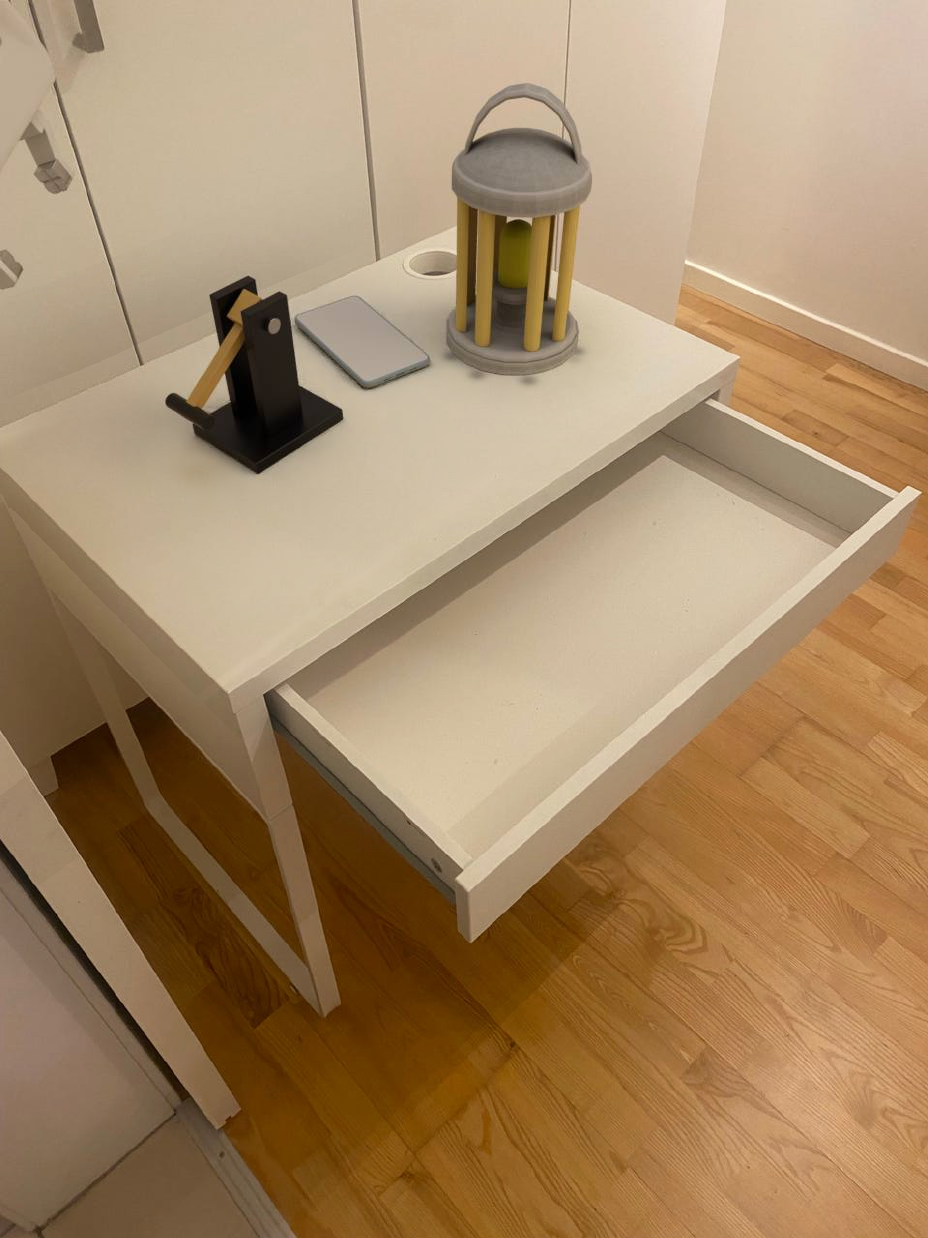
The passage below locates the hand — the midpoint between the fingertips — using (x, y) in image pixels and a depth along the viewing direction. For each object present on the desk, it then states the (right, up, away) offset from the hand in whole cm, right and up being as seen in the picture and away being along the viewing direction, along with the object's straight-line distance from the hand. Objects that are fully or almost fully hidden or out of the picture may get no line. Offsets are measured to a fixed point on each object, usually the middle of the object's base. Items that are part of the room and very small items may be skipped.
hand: (39, 231), depth 66 cm
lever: (+9, -4, +19) cm, 21 cm away
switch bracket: (+10, -8, +26) cm, 29 cm away
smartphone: (+18, +3, +36) cm, 40 cm away
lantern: (+34, +4, +38) cm, 51 cm away
